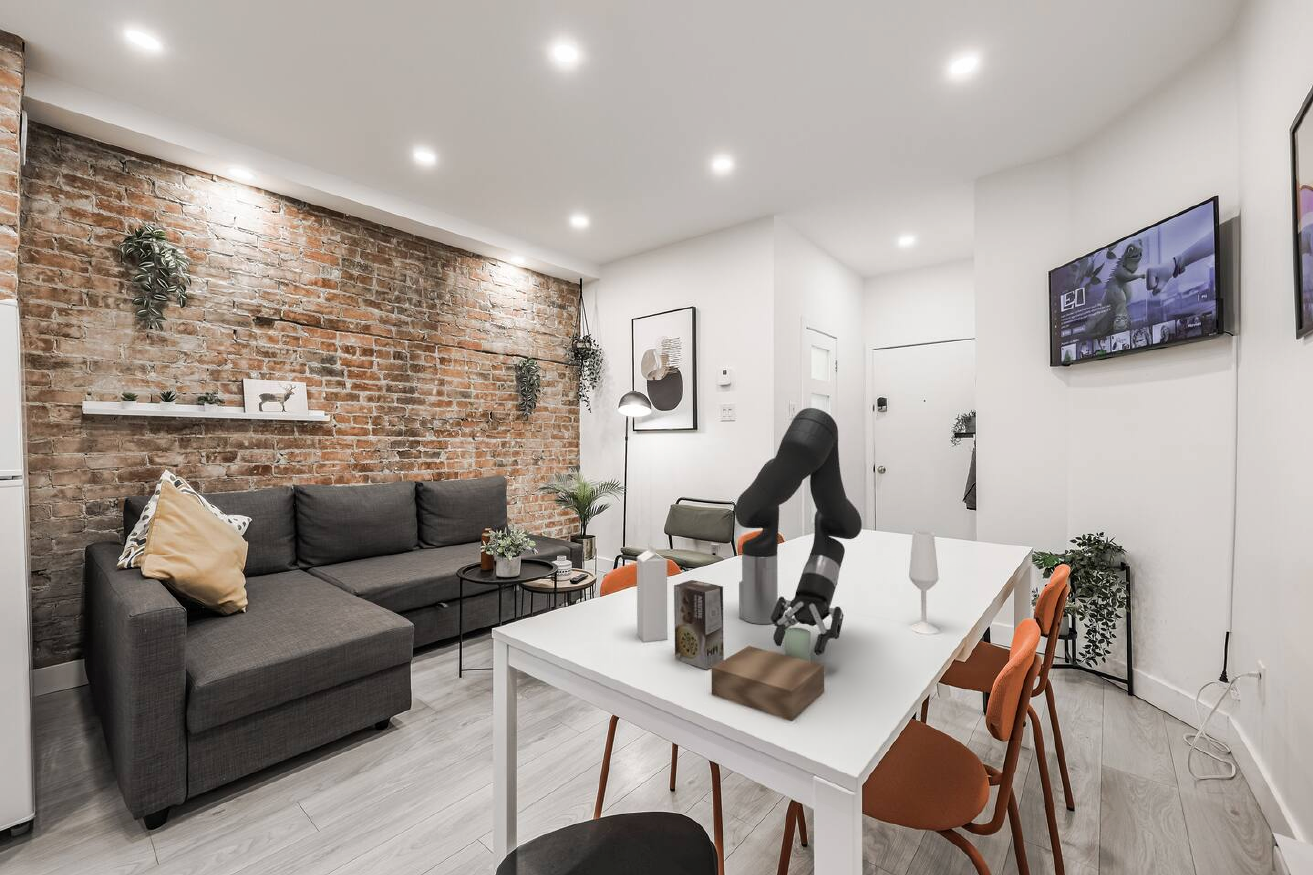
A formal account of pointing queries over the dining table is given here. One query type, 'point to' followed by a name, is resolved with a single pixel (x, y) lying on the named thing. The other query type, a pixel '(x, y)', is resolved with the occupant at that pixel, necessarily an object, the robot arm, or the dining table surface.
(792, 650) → the sage cylinder
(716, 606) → the coffee box
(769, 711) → the walnut base
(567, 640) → the dining table surface
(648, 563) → the milk
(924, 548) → the champagne flute
